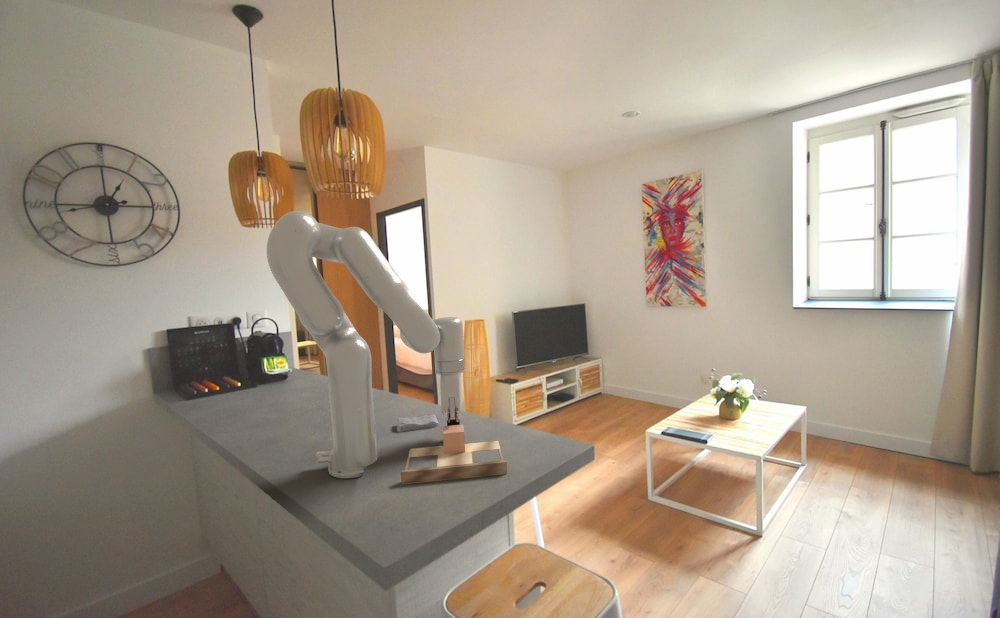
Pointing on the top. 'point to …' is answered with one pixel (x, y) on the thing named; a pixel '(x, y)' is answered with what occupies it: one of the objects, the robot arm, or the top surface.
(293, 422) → the top surface
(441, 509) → the top surface
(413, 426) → the stone block
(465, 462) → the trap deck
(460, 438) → the terracotta block
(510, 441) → the top surface
